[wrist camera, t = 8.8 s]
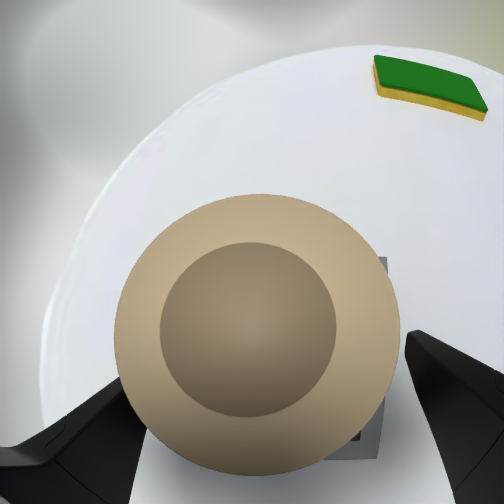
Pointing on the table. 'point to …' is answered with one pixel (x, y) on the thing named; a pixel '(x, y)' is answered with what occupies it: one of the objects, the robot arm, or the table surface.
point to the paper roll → (257, 335)
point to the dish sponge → (428, 86)
